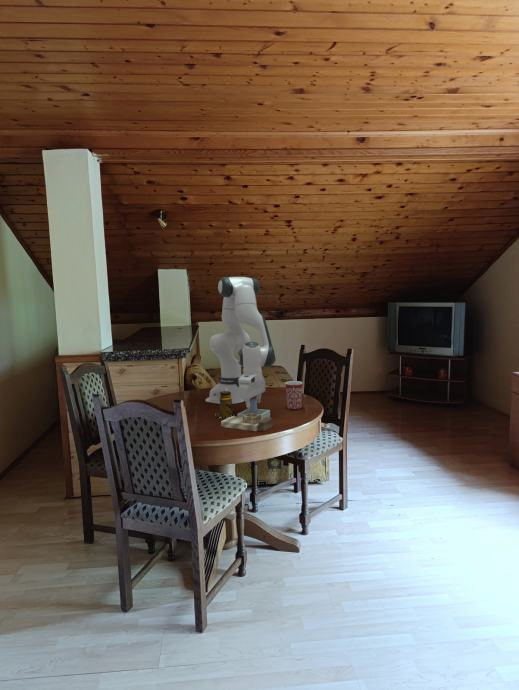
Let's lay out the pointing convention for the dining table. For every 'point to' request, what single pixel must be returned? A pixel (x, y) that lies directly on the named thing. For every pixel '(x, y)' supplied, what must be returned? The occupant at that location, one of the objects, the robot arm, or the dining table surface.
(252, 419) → the board
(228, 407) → the condiment
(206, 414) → the dining table surface
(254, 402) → the dowel
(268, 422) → the block
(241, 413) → the tray
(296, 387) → the mug
